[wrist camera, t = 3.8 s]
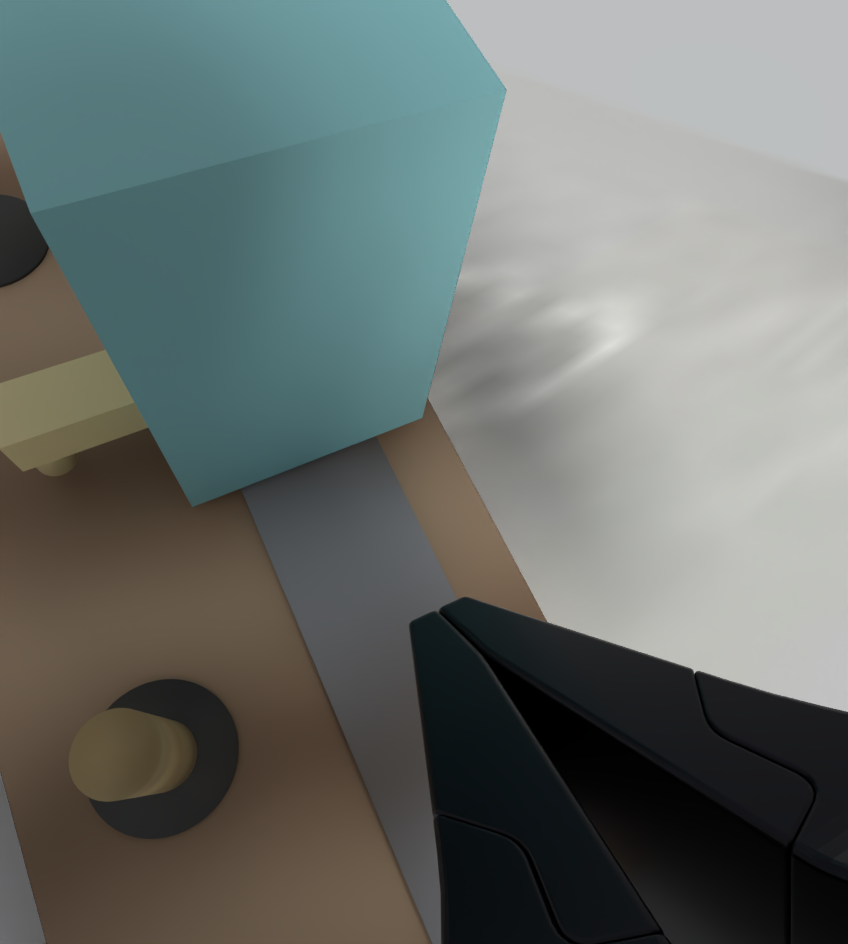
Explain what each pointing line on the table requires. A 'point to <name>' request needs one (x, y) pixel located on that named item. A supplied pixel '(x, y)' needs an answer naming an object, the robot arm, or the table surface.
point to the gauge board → (222, 668)
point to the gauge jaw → (242, 220)
